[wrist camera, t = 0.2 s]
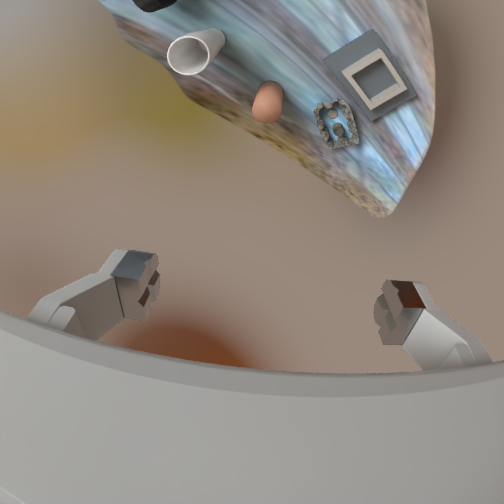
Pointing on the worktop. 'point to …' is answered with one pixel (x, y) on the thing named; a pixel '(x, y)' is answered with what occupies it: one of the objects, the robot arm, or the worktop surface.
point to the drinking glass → (195, 51)
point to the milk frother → (153, 4)
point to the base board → (371, 75)
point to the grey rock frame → (337, 125)
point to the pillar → (268, 102)
